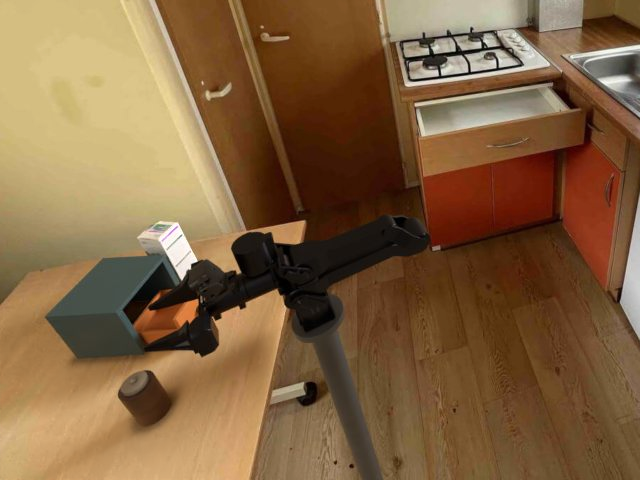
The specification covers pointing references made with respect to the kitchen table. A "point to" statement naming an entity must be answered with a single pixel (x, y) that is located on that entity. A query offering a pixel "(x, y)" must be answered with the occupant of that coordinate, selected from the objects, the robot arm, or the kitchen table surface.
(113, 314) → the cubby
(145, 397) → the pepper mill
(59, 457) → the kitchen table surface
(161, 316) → the drawer
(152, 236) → the syrup box
